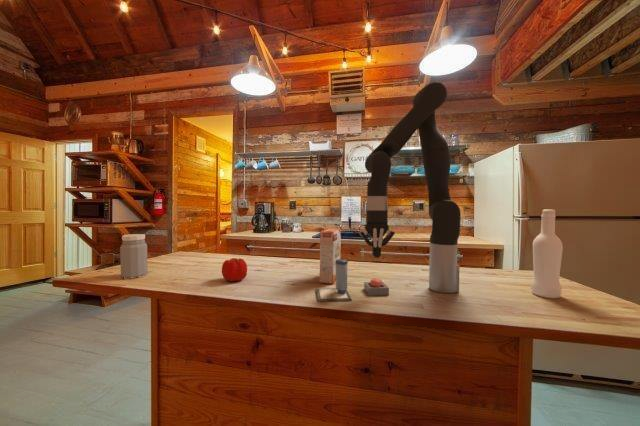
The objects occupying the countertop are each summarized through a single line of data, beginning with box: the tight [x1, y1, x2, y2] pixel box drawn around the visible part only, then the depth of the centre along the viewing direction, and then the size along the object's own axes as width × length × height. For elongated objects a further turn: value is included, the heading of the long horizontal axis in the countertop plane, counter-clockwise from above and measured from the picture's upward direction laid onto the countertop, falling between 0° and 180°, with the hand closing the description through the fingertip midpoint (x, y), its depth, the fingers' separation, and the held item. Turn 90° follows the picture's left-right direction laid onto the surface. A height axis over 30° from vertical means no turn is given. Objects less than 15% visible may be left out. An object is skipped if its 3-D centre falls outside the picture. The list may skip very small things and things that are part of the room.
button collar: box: [363, 281, 390, 297], centre depth 94 cm, size 7×7×2 cm
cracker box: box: [319, 228, 342, 285], centre depth 109 cm, size 14×6×21 cm, turn 163°
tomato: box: [221, 257, 248, 283], centre depth 107 cm, size 11×11×9 cm
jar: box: [119, 233, 149, 279], centre depth 113 cm, size 10×10×18 cm
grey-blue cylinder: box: [335, 258, 349, 294], centre depth 90 cm, size 4×4×11 cm
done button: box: [370, 278, 383, 287], centre depth 93 cm, size 4×4×2 cm
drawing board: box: [315, 287, 353, 303], centre depth 90 cm, size 11×11×1 cm
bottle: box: [530, 208, 564, 299], centre depth 90 cm, size 8×8×30 cm
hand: (376, 257), depth 93 cm, fingers closed
